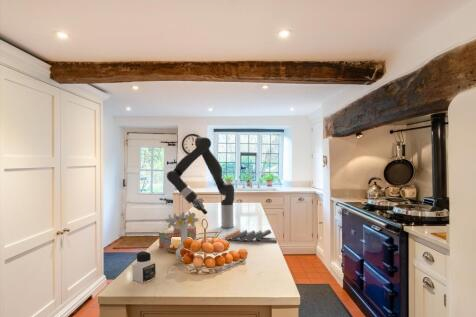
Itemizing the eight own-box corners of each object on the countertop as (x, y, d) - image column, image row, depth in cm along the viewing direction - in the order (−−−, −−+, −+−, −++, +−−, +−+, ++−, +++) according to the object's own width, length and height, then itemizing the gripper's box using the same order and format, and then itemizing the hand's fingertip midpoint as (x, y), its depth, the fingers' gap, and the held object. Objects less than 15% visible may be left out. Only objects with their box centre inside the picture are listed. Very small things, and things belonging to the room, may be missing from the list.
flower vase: (173, 253, 159) (172, 209, 158) (203, 255, 154) (203, 210, 154) (161, 261, 146) (160, 213, 146) (194, 264, 141) (193, 215, 141)
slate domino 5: (256, 237, 178) (270, 230, 181) (254, 236, 183) (268, 229, 185) (257, 240, 178) (271, 232, 180) (256, 239, 183) (269, 232, 185)
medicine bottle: (143, 283, 121) (142, 256, 121) (132, 280, 125) (131, 253, 125) (156, 277, 127) (155, 251, 127) (145, 274, 131) (144, 248, 131)
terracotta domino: (224, 237, 182) (237, 231, 180) (226, 235, 186) (239, 229, 185) (225, 240, 181) (239, 234, 180) (227, 238, 186) (240, 232, 184)
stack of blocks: (158, 248, 168) (158, 227, 168) (162, 245, 174) (162, 225, 174) (194, 248, 166) (193, 228, 166) (196, 245, 173) (196, 225, 173)
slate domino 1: (231, 238, 181) (245, 232, 179) (233, 235, 185) (246, 230, 184) (232, 240, 180) (246, 235, 178) (234, 238, 185) (247, 232, 183)
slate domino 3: (246, 238, 178) (260, 232, 177) (247, 236, 183) (260, 230, 182) (248, 241, 178) (262, 235, 177) (248, 239, 183) (262, 232, 182)
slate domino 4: (260, 239, 177) (276, 240, 175) (260, 237, 182) (276, 237, 180) (260, 242, 177) (276, 243, 175) (260, 240, 182) (276, 241, 180)
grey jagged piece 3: (239, 238, 178) (253, 232, 177) (240, 236, 183) (254, 230, 182) (240, 241, 178) (254, 235, 177) (241, 239, 183) (255, 232, 182)
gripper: (189, 191, 181) (207, 211, 180) (195, 189, 195) (212, 208, 193) (181, 199, 182) (199, 219, 180) (188, 197, 195) (205, 215, 193)
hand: (206, 213), depth 186 cm, fingers closed
